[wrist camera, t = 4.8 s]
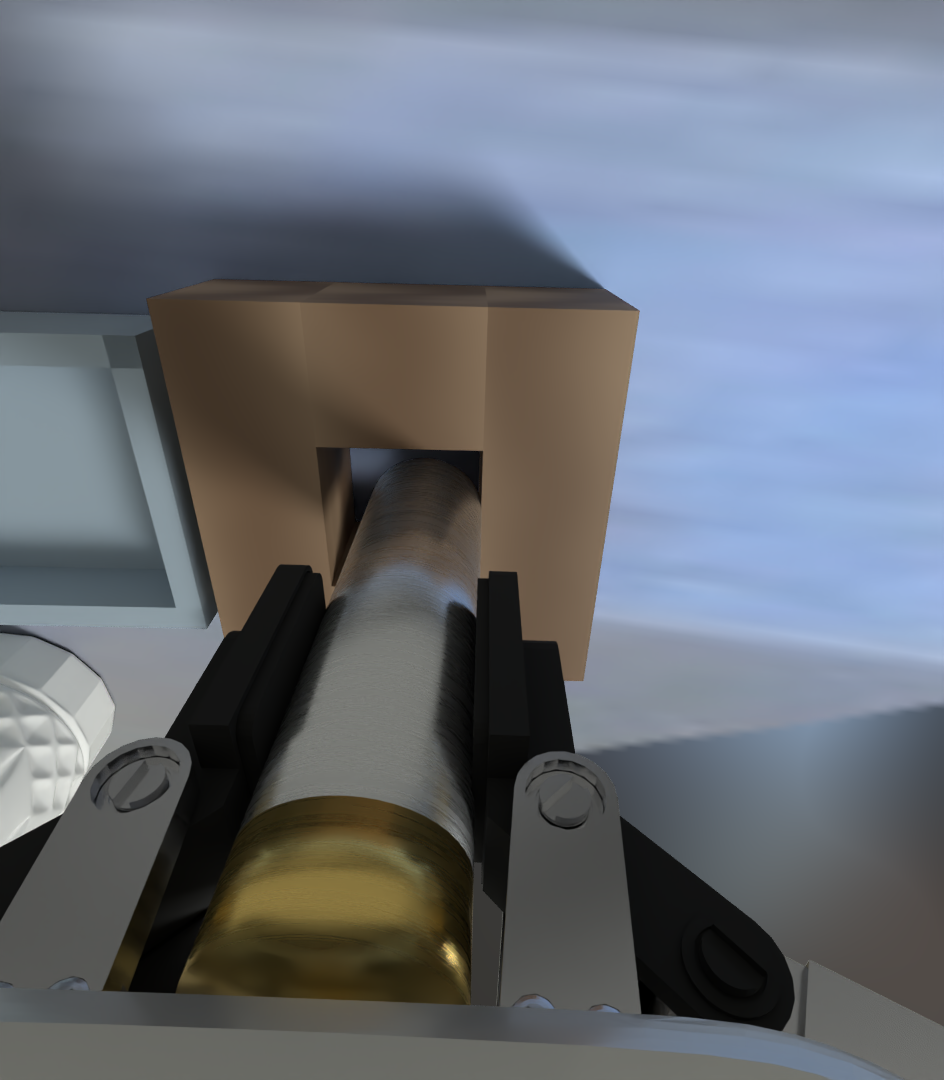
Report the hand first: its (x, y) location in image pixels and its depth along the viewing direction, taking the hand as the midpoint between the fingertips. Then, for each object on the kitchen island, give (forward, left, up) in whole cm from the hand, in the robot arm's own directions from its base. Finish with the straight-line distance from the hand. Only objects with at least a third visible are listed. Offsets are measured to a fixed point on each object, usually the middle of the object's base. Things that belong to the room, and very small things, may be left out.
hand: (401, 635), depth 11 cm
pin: (0, 0, -5) cm, 5 cm away
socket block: (0, 0, -9) cm, 9 cm away
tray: (+12, 0, -9) cm, 15 cm away
